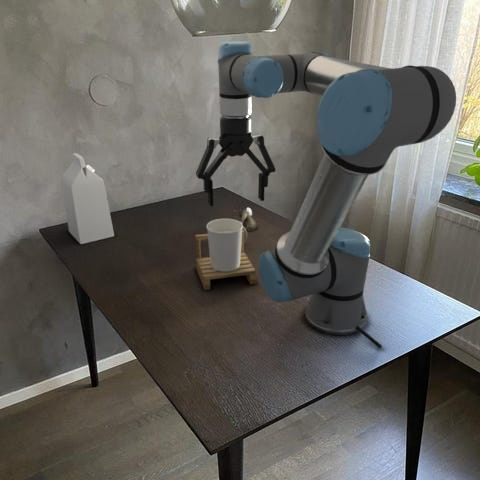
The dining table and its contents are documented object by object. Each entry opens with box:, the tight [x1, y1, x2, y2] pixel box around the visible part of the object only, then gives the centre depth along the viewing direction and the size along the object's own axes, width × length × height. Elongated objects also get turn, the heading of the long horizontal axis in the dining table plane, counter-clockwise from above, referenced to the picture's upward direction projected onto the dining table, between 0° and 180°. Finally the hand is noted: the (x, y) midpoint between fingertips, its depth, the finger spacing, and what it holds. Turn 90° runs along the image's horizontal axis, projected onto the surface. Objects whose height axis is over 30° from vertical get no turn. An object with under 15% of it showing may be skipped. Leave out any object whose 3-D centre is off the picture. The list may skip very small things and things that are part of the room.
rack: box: [195, 230, 257, 291], centre depth 144 cm, size 13×15×11 cm
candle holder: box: [206, 218, 244, 272], centre depth 141 cm, size 10×10×12 cm
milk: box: [61, 152, 115, 245], centre depth 164 cm, size 12×12×26 cm
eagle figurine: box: [232, 207, 257, 232], centre depth 175 cm, size 8×7×9 cm
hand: (236, 201), depth 133 cm, fingers open, 13 cm apart
